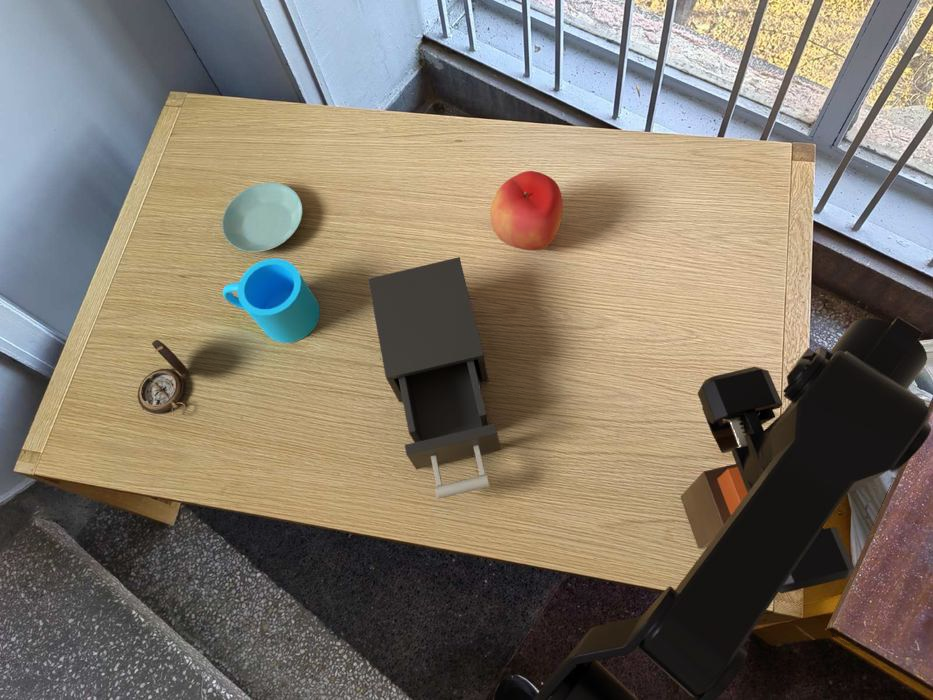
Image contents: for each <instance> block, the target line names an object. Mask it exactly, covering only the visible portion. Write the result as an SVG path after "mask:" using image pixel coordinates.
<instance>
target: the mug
mask: <svg viewBox="0 0 933 700" xmlns="http://www.w3.org/2000/svg"><path fill="white" fill-rule="evenodd" d="M233 292H237V295H235V294H233ZM222 296H223V298H224V300H225V301H227V302H228V303H229V304H231V305H233V306H235V307H237V308H239V309H242V310H244V311H246V313H247V314H248V315H249V316H250V317H251V318H252V319H253V321H254V322H255V323H256V324H257V325H258V326H259V328H260V329H261V330H262V331H263V332H264V333H265V335H266V336H267V337H269V339H272V340H273V341H275V342H279V343H283V344H286V343H290V344H291V343H294V342H295V343H296V342H297V341H301V340H303V339H304V338H306V337H307V336H309V335H310V334H311V333H312V332H313V330H315V328H316V327H317V324H318V322H319V321H320V313H321V308H320V304H319V302H318V300H317V299H316V297H315V294H313V292H312V291H311V289H310V288H309V286H308V284H307V282H306V281H305V280H304V278H303V277H302V275H301V273H300V272H299V271H298V268H297V267H296V266H295V265H294V264H293V263H291V262H290V261H288V260H285V259H281V258H267V259H264V260H261V261H258V262H255V264H253V265H251V266H249V268H248V269H246V271H245V272H244V273H243V274H242V276H241V278H240V280H239V282H238V281H237V282H232V283H229V284H227V285H225V286H224V287H223V290H222Z"/></svg>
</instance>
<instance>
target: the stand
mask: <svg viewBox="0 0 933 700" xmlns="http://www.w3.org/2000/svg"><path fill="white" fill-rule="evenodd" d="M734 467H737V465H736V463H733V464H729V465H725V466H722V467H717V468H712V469H709V470H704V471H702V473H701V474H700V475H699V476H698V477H697V478H696V479H695V480H694V481H693V482H692V483H691V484H690V486H689V487H687V488H686V490H685V491H684V492H683V493H682V494H681V495H680V500H681V503H682V506H683V508H684V512H685V514H686V517H687V520H688V523H689V525H690V529H691V531H692V534H693V537H694V540H695V543H696V545H697V548H698V549H703V548H707V547H708V545H709V544H710V543H711V541H712V540H713V539H714V537H715V536H716V535H717V533H718V532H719V531H720V529H721V528H722V527H723V525H724V524H725V523H726V521H727V520H728V519H729V517H730V516H731V514H730V512H729V509H728V507H727V504H726V501H725V499H724V496H723V493H722V491H721V488H720V485H719V483H718V480H717V479H718V478H719V477H720V476H721V475H722V474H723V473H724V472H725V471H726V470H727V469H730V468H734Z"/></svg>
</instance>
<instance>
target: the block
mask: <svg viewBox="0 0 933 700" xmlns="http://www.w3.org/2000/svg"><path fill="white" fill-rule="evenodd" d="M717 480H718V483H719V485H720V488H721V491H722V493H723V496H724V499H725V501H726V504H727V507H728V509H729V512H730V514H731V515H732V513H733V512H734V511H735V509H736V508H737V507H738V505H739V504H740V503H741V501H742V500H743V499H744V497H745V496H746V495H747V490H746V488H745V485H744V482H743V480H742V477H741V475H740V472H739V470H738V467H734V468H730V469H727V470H726V471H725V472H724V473H723V474H722V475H721V476H720V477H719V478H718V479H717Z"/></svg>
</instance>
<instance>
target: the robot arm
mask: <svg viewBox="0 0 933 700" xmlns="http://www.w3.org/2000/svg"><path fill="white" fill-rule="evenodd" d="M923 334H924V332H923V330H921V329H920V328H917V327H916V326H914V325H912V324H911V323H909V322H908V321H906V320H905V319H903V318H901V317H900V316H897V317H896V318H895V319H894V320H893V321H892V322H890V321H887V320H884V319H881V318H873V317H872V318H871V317H867V318H865V317H864V318H860V319H859V318H857V319H855V320H854V321H852V323H851V324H850V325H849V327H847V329H846V330H845V332H843V334H842V335H841V337H840V338H839V340H838V341H837V342H836V343H835V344H834V346H833V347H832V348H831V350H828V349H826V348H825V347H823V346H821V345H820V346H819V347H818V348H817V350H816V351H814V350H812V349H811V348H809V347H807V349H806V350H805V351H804V352H803V353H802V355H801V356H800V357H799V358H798V359H797V360H796V362H795V364H794V365H793V367H792V368H791V369H790V371H789V372H788V374H787V375H786V381H787V386H786V387H785V388H784V389H783V391H782V392H783V398H785V399H787V400H788V401H790V403H789V404H788V405H787V407H786V408H785V410H784V411H782V413H781V414H780V415H779V416H778V417H776V414H775V412H774V410H777V409H780V408H781V407H782V406H783V405H784V403H783V401H782V399H781V396H780V394H779V392H778V390H777V388H776V386H775V384H774V381H773V379H772V376H771V373H770V372H769V370H767V369H764V368H762V367H759V366H750V367H747V368H743V369H739V370H734V371H730V372H725V373H721V374H718V375H713V376H711V377H709V378H706V379H705V380H704V381H703V383H702V384H701V386H700V387H699V389H698V391H697V397H698V399H699V402H700V403H701V406H702V408H701V409H702V412H703V414H704V417H705V420H706V422H707V426H708V427H709V430H710V433H711V435H712V437H713V439H714V441H715V442H716V445H717V446H718V449H719V451H720V452H721V454H726V453H731V454H732V457H733V459H734V462H735V464H736V465H737V467H738V470H739V472H740V475H741V477H742V480H743V482H744V485H745V488H746V490H747V495H746V496H745V497H744V499H743V500H742V501H741V503H740V504H739V505H738V507H737V508H736V509H735V511H734V512H733V513H732V515H731V516H730V517H729V519H728V520H727V521H726V523H725V524H724V525H723V527H722V528H721V529H720V531H719V532H718V533H717V535H716V536H715V537H714V539H713V540H712V541H711V543H710V544H709V545H708V547H705V549H704V550H703V552H702V553H701V555H700V556H699V557H698V559H697V560H696V562H694V564H693V565H692V567H691V568H689V571H688V572H687V573H686V574H685V576H684V577H683V578H682V580H681V581H680V583H679V584H678V585H677V587H676V588H675V589H674V588H673V587H672V586H670V585H669V586H667V588H666V589H664V590H663V591H662V593H661V594H659V596H658V597H657V598H656V600H655V601H653V603H652V604H651V605H650V606H649V608H648V609H646V611H645V612H644V613H643V614H641V616H637V617H631V618H627V619H623V620H619V621H613V622H609V623H605V624H600V625H595V626H592V628H590V629H589V630H588V631H587V633H585V635H583V637H582V638H581V640H579V642H578V643H577V644H576V645H575V646H574V648H573V649H572V650H571V652H570V653H569V654H568V655H567V656H566V657H565V658H564V660H563V661H562V662H561V663H560V664H559V666H558V667H557V668H556V669H555V671H554V672H553V673H552V674H551V675H550V676H549V678H548V680H546V681H545V683H544V684H543V686H542V687H541V688H540V690H539V691H538V692H537V693H536V695H535V696H534V698H533V700H640V699H639V698H638V696H636V695H635V694H634V693H633V692H632V691H630V690H629V689H628V688H627V687H626V686H625V684H623V683H622V682H621V680H619V679H618V678H617V677H616V676H615V675H614V674H612V673H611V672H610V671H609V670H608V669H607V667H605V666H604V665H603V664H602V663H601V662H600V661H602V660H609V659H614V658H618V657H624V656H628V655H630V654H631V653H633V652H634V651H635V650H636V649H637V647H638V650H640V652H641V653H643V654H644V655H645V656H646V657H647V658H648V659H649V660H650V661H651V662H653V663H654V664H655V665H656V666H657V667H658V668H659V669H661V670H662V671H663V673H665V674H666V675H667V676H668V677H670V679H672V680H673V682H675V683H676V684H677V685H678V686H679V687H680V688H681V689H683V691H685V693H687V694H688V695H689V696H690V697H692V698H694V700H717V699H718V698H719V697H720V696H721V695H722V694H723V693H724V691H725V690H726V689H727V688H728V687H729V686H730V685H731V683H732V682H733V680H734V679H735V678H736V676H737V675H738V674H739V672H740V670H741V669H742V667H743V665H744V664H745V661H746V659H747V657H748V656H747V655H748V651H747V649H745V648H744V647H743V645H744V644H745V642H746V641H747V640H748V638H749V637H750V635H751V633H752V632H753V630H754V629H755V627H756V626H757V625H758V623H759V622H760V620H761V619H762V617H764V614H765V613H766V611H767V610H768V609H769V607H770V605H771V604H772V603H773V601H774V600H775V598H776V597H777V596H778V595H779V593H780V594H787V593H790V592H795V591H798V590H803V589H807V588H811V587H815V586H819V585H823V584H824V585H825V584H828V583H832V582H836V581H840V580H846V579H849V578H851V576H852V574H853V572H854V570H855V566H854V564H853V561H852V559H851V556H850V554H849V552H848V550H847V548H846V545H845V542H844V540H843V539H842V536H841V534H840V532H839V529H838V527H837V526H834V527H833V526H832V527H826V528H824V526H825V525H826V524H827V522H829V521H828V520H829V519H830V518H831V516H832V515H833V514H834V512H835V510H836V509H837V508H838V506H839V504H840V503H841V501H842V500H843V499H844V497H845V496H846V495H847V494H849V493H853V492H855V491H857V490H859V489H861V488H862V487H864V486H865V485H868V484H869V483H870V482H872V481H874V480H876V479H877V478H879V477H880V476H882V475H884V474H885V473H887V472H889V471H891V472H893V471H896V470H898V469H900V468H901V467H902V466H903V465H905V464H906V463H907V462H908V461H909V460H910V459H911V458H913V456H914V455H915V454H916V453H917V452H918V450H920V449H921V447H922V446H923V444H924V443H925V442H926V440H927V439H928V437H929V436H930V434H931V431H932V426H931V425H930V423H929V421H928V420H929V418H930V416H931V413H932V411H931V407H930V406H928V405H927V404H926V400H925V399H923V398H921V397H920V396H918V395H917V394H915V393H914V392H912V391H910V390H909V388H910V386H911V385H912V384H913V382H914V380H916V378H918V375H919V374H920V373H921V371H922V370H923V369H924V368H925V366H926V364H927V361H928V354H927V351H926V349H925V347H924V345H923V344H922V342H920V340H919V339H920V338H921V336H922V335H923ZM775 418H776V419H775ZM773 419H775V420H773ZM771 420H773V422H772V423H770V425H768V427H766V428H765V429H764V427H763V425H764V424H766V423H768V422H769V421H771Z"/></svg>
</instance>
